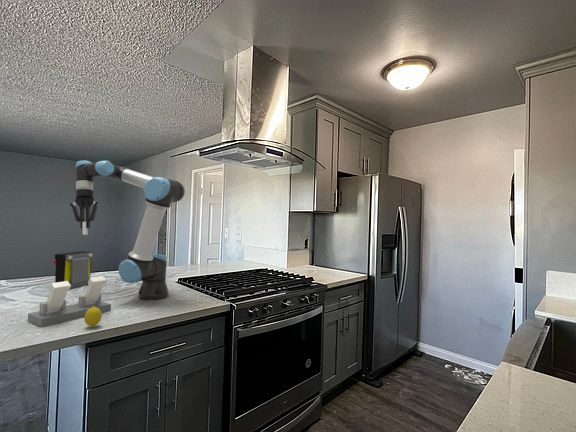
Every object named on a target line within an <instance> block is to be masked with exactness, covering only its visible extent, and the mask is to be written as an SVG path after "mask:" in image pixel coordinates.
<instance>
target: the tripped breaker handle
mask: <svg viewBox="0 0 576 432" xmlns="http://www.w3.org/2000/svg"><path fill="white" fill-rule="evenodd" d="M50 283H51V282H50ZM70 286H71V285H70V284H69V282H68V281H63V282H56V283H55V282H52V283H51V284H50V286H49V294H48V296H47V298H46V301H45V303H46V312H49V311H54V310H59V309H61V307H62V305H63V302H64V300H66V296H67V293H68V292H69V291H70Z"/></svg>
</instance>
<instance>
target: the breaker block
mask: <svg viewBox="0 0 576 432" xmlns="http://www.w3.org/2000/svg"><path fill="white" fill-rule="evenodd" d="M77 302H78V303H73V304H70V305H67V300H66V299H64V302H63V305H62V307H61V309H59V310H54V311H49V312H46V302H43V301H42V302H39V311H34V312H30V313H27V322H29V323H31V324H33V325H35V326H36V327H40V328H44V327H48V326H49V327H50V326H52V325H56V324H57V325H58V324H61V323H65V322H69V321H73V320H77V319H81V318H85V314H86V312H87V310H88V309H90V308H92V307H93V306H95V307H97V308H99V309H100V311H101V314H103V313H107V312H111V308H112V304H111V303H108V302H105V301H102V293H101V292H100V295H99V297H98V300H97V302H93V303H88V304H85V296H84V295H78V301H77Z"/></svg>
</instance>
